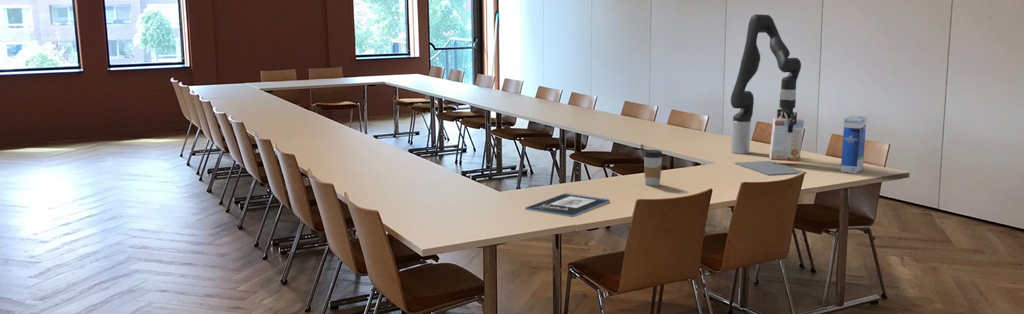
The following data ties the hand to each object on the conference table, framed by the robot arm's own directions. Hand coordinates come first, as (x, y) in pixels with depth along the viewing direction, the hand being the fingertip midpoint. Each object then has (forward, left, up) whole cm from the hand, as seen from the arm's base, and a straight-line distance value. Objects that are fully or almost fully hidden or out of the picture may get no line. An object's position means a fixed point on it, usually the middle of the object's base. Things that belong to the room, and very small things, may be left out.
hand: (785, 131), depth 432 cm
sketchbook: (+59, -134, -17) cm, 147 cm away
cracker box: (0, 0, -15) cm, 15 cm away
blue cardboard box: (+25, +21, -17) cm, 37 cm away
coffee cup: (+30, -85, -17) cm, 92 cm away
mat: (+9, -14, -16) cm, 23 cm away
